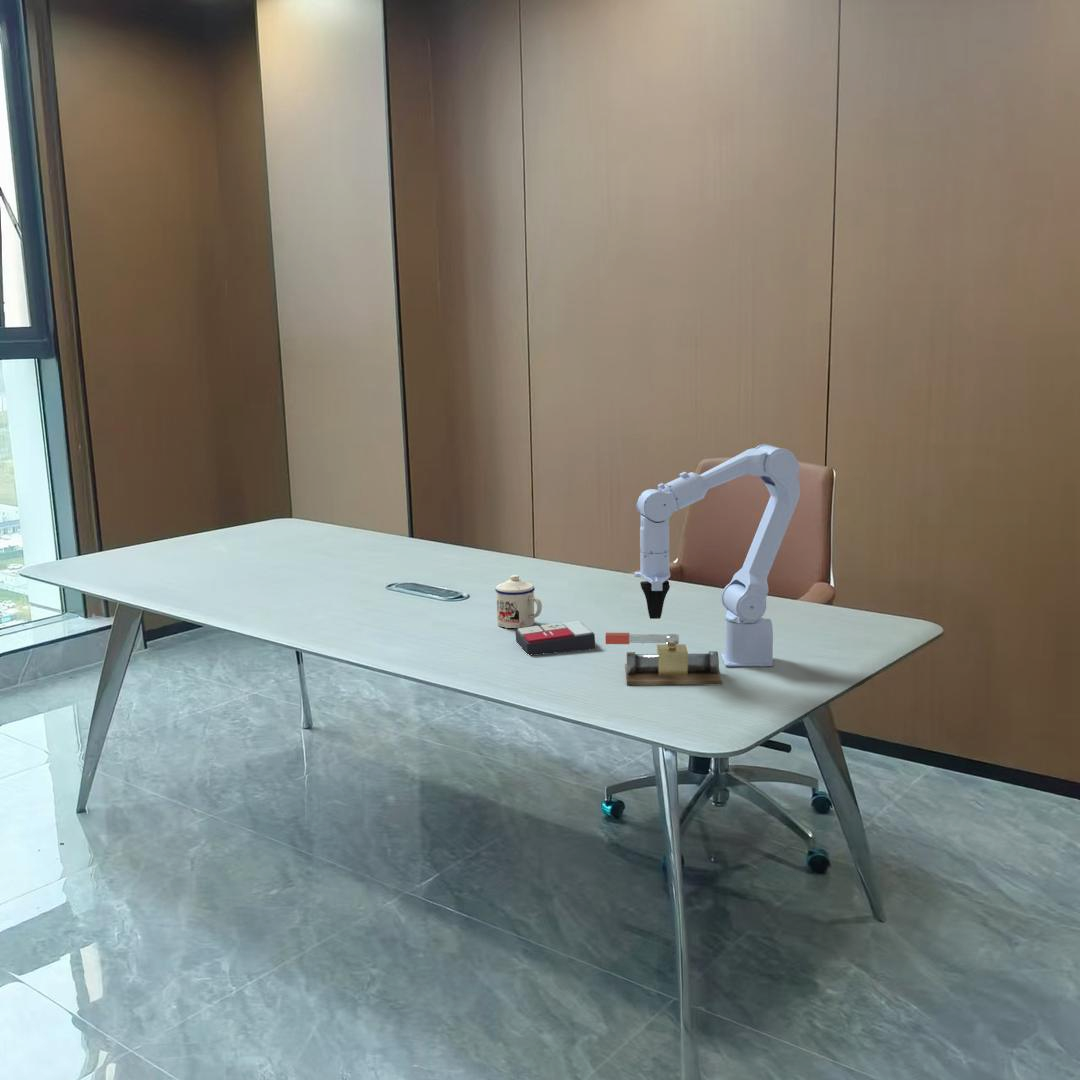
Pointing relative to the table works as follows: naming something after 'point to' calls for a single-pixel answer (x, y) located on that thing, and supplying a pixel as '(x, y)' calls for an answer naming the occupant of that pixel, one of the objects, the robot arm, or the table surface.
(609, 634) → the lever
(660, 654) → the valve
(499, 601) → the teacup with lid
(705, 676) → the board
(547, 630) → the calculator
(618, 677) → the table surface
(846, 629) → the table surface
